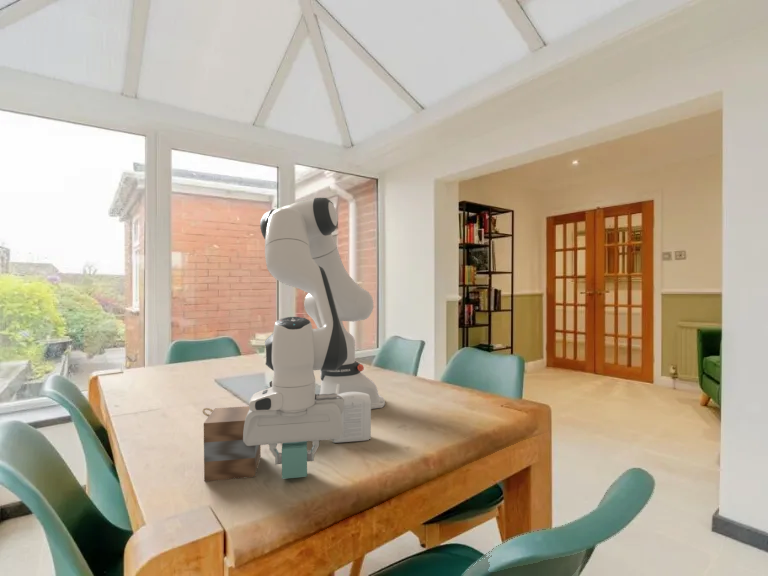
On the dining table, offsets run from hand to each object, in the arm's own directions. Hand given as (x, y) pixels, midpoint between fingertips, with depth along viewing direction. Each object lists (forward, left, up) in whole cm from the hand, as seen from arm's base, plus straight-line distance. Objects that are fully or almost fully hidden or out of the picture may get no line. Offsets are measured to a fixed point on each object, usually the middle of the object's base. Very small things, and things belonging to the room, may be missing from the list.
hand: (294, 461), depth 84 cm
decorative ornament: (+22, -34, -4) cm, 41 cm away
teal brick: (0, 0, -2) cm, 2 cm away
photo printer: (-14, -18, -4) cm, 23 cm away
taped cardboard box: (+13, -7, -3) cm, 15 cm away
